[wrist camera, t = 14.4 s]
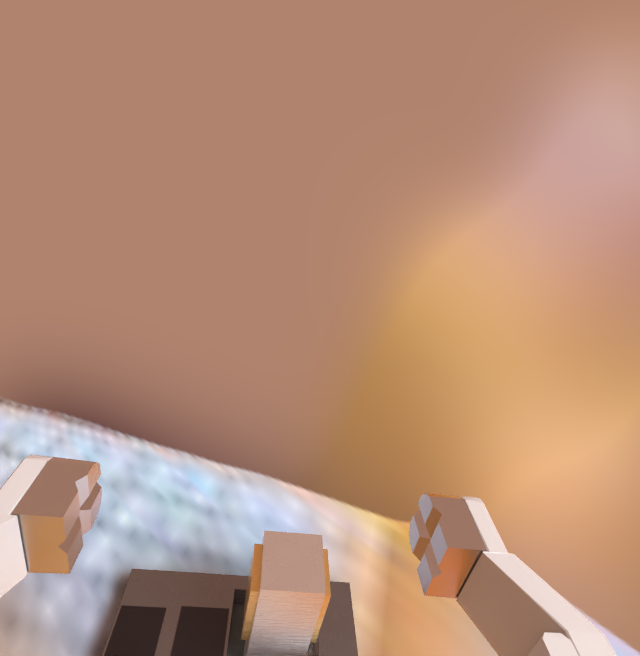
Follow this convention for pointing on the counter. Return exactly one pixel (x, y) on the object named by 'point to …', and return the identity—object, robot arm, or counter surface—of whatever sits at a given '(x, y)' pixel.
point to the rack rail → (205, 616)
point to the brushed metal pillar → (285, 594)
